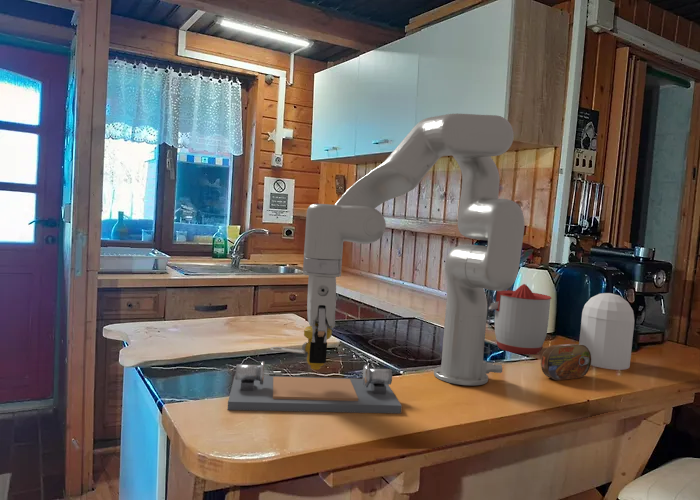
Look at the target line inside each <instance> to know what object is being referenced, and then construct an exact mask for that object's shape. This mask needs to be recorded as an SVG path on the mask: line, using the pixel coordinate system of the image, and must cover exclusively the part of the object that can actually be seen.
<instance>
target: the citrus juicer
mask: <svg viewBox="0 0 700 500" xmlns="http://www.w3.org/2000/svg"><path fill="white" fill-rule="evenodd" d="M495 298H496V299H495V301H493V302H491V303H490V305H489V307H488V310H494V311H495V313H494V334H495V338H496V339H495V341H496V344H497V347H498V349H500V350H503V351H505V352H508V353H513V354H517V355H527V356H528V355H532V356H533V355H538V354H540V352H541V350H542V349H543V345H544V342H545V340H546V337H547V334H548V328H549V319H550V311H551V310H550V308H551V300H552V299H553V298H552V296H549V295H547V294H541V293H537V292H533V291H532V290H531V288H530V287H529V286H528V285H527V284H525V283H523V284H522V285H520V286H519V287H518V288H516V289H515V290H509V289H507V290H504V291H496V297H495Z"/></svg>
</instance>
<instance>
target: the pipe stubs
mask: <svg viewBox="0 0 700 500" xmlns="http://www.w3.org/2000/svg"><path fill="white" fill-rule="evenodd" d="M260 363H261V364H236V367H235V375H236V377H235V380H241V390H240V391H253V388H254V381H260V385H263V379H264V376H265V361H261V362H260ZM362 368H363V369H362V379H363V386H364V387H366V388H367V387H368V385H369V384H371V390H372V391H373V393H374V394H386V386H385V384H388V385H389V386H390V385H392V382H393V372H392V368H389V369H388V368H370V366H369V365H368V364H364V365H363V367H362Z"/></svg>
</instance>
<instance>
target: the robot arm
mask: <svg viewBox="0 0 700 500" xmlns="http://www.w3.org/2000/svg"><path fill="white" fill-rule="evenodd" d="M514 137H515V136H514V130H513V126H512V124H511V123H510V122H509V120H507V119H506V117H502V116H500V115H496V114H495V115H494V114H472V113H447V114H442V115H435V116H431V117H426V118H424V119H422V120H420V121H419V122H417V124H416V125H415V126H413V128H412V129H411V130H410V131H409V132H408V133H407V135H406V136H405V137H404V138H403V139H402V141H400V143H399V144H398V146H396V148H395V149H394V150H392V152H391V153H390V155H388V156H387V158H386V159H385V160H384V161H383V162H382V163H380V164H379V165H378V166H376V167H375V168H374V169H372V170H371V171H370V172H368V173H367V174H365V175H364V176H363V177H361V178H359V179H358V180H357V181H356V182H354V183H353V184H352V185H351V186H350V187H349V188H348V189H346V191H345V192H344V193H343V194H342V195H341V196H340V198H339V199H338V200H337V201H336V203H335V204H329V203H312V204H310V205H309V206H308V207H307V209H306V216H305V218H306V219H305V230H304V231H305V233H304V234H305V235H304V245H303V247H304V249H303V265H302V274H303V275H305V276H308V281H307V297H306V298H307V302H306V303H307V305H306V308H307V310H306V311H307V313H306V314H307V322H308V324H309V326H311V327H312V342H310V355H309V362H310V363H324V364H326V362H327V354H328V353H327V350H328V342H327V340H328V339H327V327H328V326H329V328H330V329H334V328H335V327H336V305H337V303H336V302H337V278H339V277H341V276H342V265H343V253H344V252H343V249H344V242H349V243H355V244H360V245H367V244H373V243H375V242H377V241H379V240H380V239H381V238H382V237H383V235H384V233H385V231H386V226H387V225H386V219H385V217H384V216H383V214H382V213H381V211H379V210H378V209H376V208H377V207H379V206H381V205H382V204H384V203H386V202H388V201H390V200H393V199H396V198H398V197H401V196H403V195H405V194H407V193H409V192H412V191H413V190H414V189H415V188H416V187H417V186H418V185H419V184H420V182H421V181H422V180H423V178H424V177H426V175H427V174H428V172H430V170H431V169H432V168H433V166H434V165H435V164H436V163H437V162H438V160H439V159H440V158H442V157H448V156H449V157H450V156H451V157H453V159H454V160H455V161H456V163H457V165H458V167H459V169H460V172H461V179H462V180H461V193H460V198H459V207H458V213H457V229H458V232H459V233H460V235H462V236H463V237H465V238H467V239H473V240H481V241H487V246H485V245H478V244H477V245H476V244H460V245H456V246H455V247H454V248H451V250H450V251H449V252H448V254H447V255H446V258H445V262H444V271H445V281H446V302H445V303H446V304H445V316H444V328H443V339H442V349H441V350H442V353H441V364H440V366H438V367H435V368H434V370H433V376H434V377H435V378H437V379H439V380H440V381H444V382H446V383H450V384H452V385H453V384H454V385H460V386H469V387H470V386H481V385H485V384H487V383H488V381H489V375H490V373H497V374H501V373H502V372H503V365H502V364H499V363H498V364H496V363H495V364H494V362H487V361H486V360H484V350H485V340H486V339H485V338H486V329H487V316H488V299H487V295H486V292H485V290H489V291H494V292H497V291H504V290H509V289H510V288H511V287H512V286H513V284H514V283H515V282H516V279H517V277H518V273H519V269H520V263H521V256H522V255H521V254H522V250H523V249H522V248H523V241H524V236H525V235H524V234H525V233H524V232H525V216H524V212H523V209H522V208H521V207H520V205H519V204H518V203H517V202H515V201H513V200H512V199H508V198H499V191H500V183H501V182H500V180H501V179H500V173H499V169H498V167H497V165H496V163H495V161H494V159H493V158H492V157H497V156H500V155H501V156H502V155H504V154H505V153H506V152H507V151H508V150H509V149H510V148H511V147H512V144H513V142H514ZM315 323H318V326H315ZM315 330H318V331H316V332H315ZM307 340H309V339H308V338H307ZM308 342H309V341H307V343H308ZM488 374H489V375H488Z"/></svg>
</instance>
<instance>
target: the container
mask: <svg viewBox="0 0 700 500" xmlns="http://www.w3.org/2000/svg"><path fill="white" fill-rule="evenodd" d="M580 323H581V324H580V331H579V333H580V334H579V343H578V344H579V345H584V346H586V347H587V348H588V349H589V351H590V354H591V365H590V366H593V367H596V368H601V369H607V370H618V371H619V370H620V371H621V370H622V371H623V370H627V369H630V366H631V358H632V350H633V349H632V347H633V339H634V338H633V337H634V329H635V314H634V310H633V308H632V307H631V305H630V303H629V302H628V301H627V300H626V299H625V298H623V297H622V296H621V295H618V294H615V293H611V292H602V293H598V294H596V295H594V296H592V297H590V298H589V299H588V301H586V303H585V304H584V306H583V308H582V312H581V321H580Z"/></svg>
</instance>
